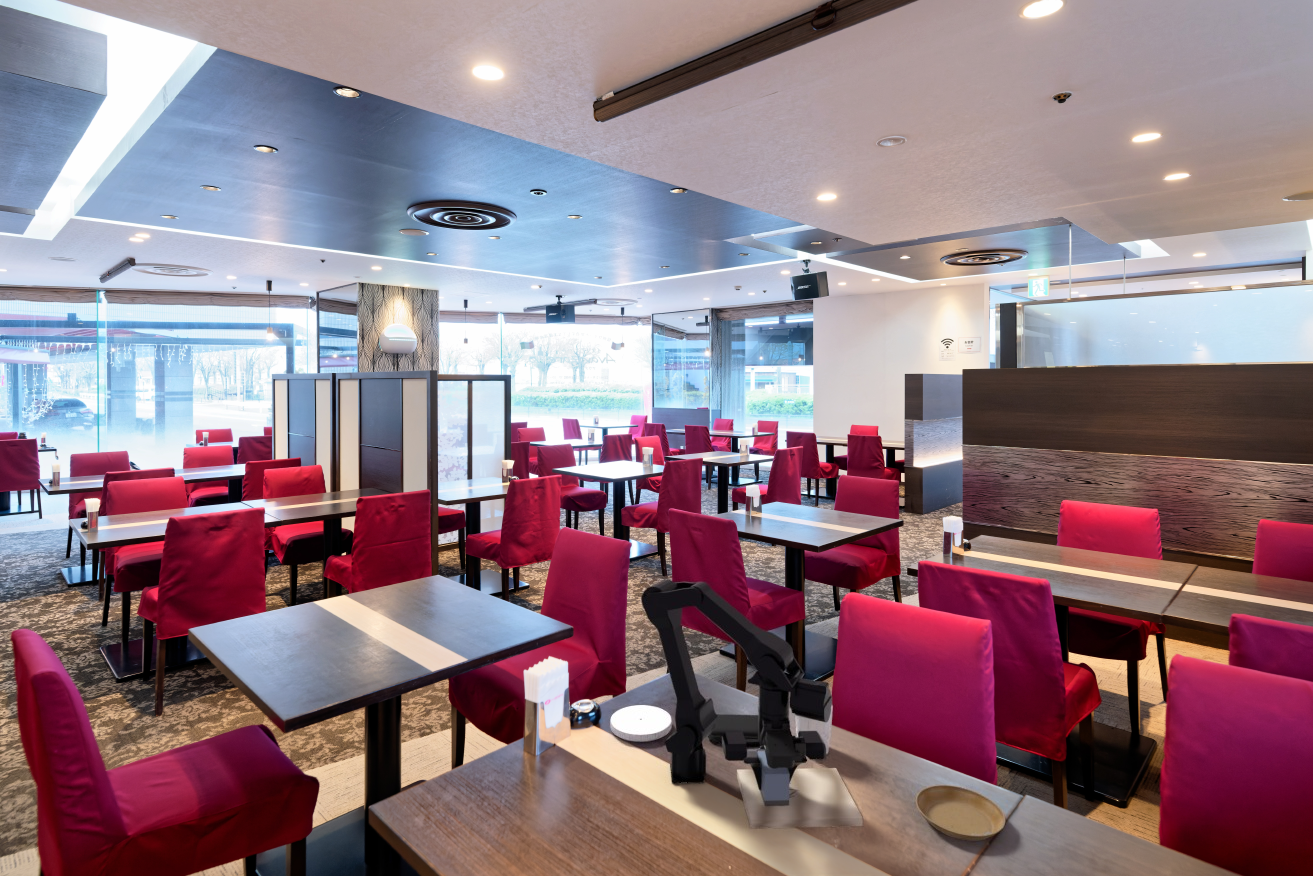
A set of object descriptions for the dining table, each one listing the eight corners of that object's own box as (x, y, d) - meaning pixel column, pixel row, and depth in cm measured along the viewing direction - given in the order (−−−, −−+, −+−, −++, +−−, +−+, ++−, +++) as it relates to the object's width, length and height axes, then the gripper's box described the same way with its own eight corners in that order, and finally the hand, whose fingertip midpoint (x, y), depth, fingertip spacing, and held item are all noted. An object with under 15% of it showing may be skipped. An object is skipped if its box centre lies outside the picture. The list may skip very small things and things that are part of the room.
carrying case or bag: (707, 748, 148) (775, 749, 147) (707, 734, 148) (775, 736, 147) (705, 724, 158) (769, 725, 158) (705, 711, 158) (769, 712, 158)
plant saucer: (1001, 861, 112) (1001, 846, 112) (907, 831, 120) (908, 817, 120) (1008, 813, 125) (1008, 800, 125) (923, 789, 133) (923, 776, 132)
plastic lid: (604, 743, 150) (604, 732, 149) (616, 713, 163) (616, 703, 163) (667, 748, 148) (667, 737, 147) (674, 717, 161) (674, 707, 161)
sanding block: (764, 805, 124) (765, 774, 124) (756, 780, 132) (757, 751, 132) (789, 805, 124) (789, 773, 124) (779, 780, 132) (780, 750, 132)
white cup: (828, 740, 150) (829, 697, 150) (834, 760, 142) (835, 714, 142) (792, 738, 151) (793, 695, 150) (796, 758, 143) (797, 712, 143)
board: (750, 828, 120) (750, 820, 120) (737, 776, 136) (737, 769, 136) (862, 826, 121) (862, 818, 121) (835, 775, 137) (835, 767, 137)
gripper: (730, 731, 119) (729, 816, 120) (835, 729, 119) (833, 814, 120) (721, 701, 130) (721, 780, 131) (818, 700, 130) (817, 778, 132)
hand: (772, 788), depth 128 cm, fingers closed on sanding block, 4 cm apart
